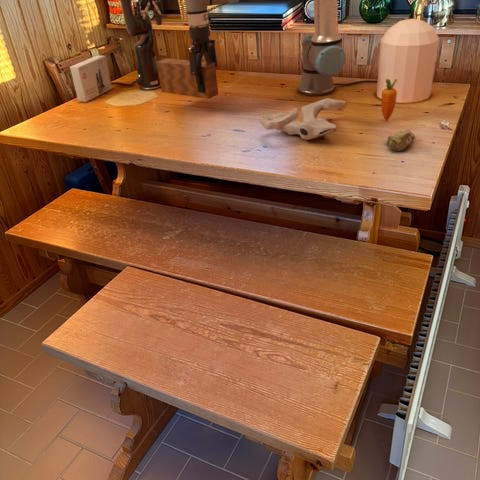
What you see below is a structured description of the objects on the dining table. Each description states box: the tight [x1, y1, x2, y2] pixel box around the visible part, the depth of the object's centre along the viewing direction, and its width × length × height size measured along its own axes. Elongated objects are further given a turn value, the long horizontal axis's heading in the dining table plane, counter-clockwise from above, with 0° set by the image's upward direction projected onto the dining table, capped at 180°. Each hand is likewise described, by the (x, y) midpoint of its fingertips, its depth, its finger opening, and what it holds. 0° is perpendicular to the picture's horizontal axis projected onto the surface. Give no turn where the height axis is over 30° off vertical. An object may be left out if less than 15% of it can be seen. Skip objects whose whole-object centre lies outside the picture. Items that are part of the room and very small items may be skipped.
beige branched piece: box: [259, 97, 347, 141], centre depth 160 cm, size 28×26×12 cm
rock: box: [387, 129, 416, 152], centre depth 146 cm, size 11×6×10 cm
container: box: [375, 18, 440, 104], centre depth 179 cm, size 21×21×28 cm
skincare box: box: [69, 54, 113, 103], centre depth 218 cm, size 21×6×16 cm, turn 158°
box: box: [156, 57, 219, 100], centre depth 183 cm, size 25×6×12 cm, turn 54°
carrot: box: [380, 79, 397, 122], centre depth 161 cm, size 5×5×15 cm
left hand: (152, 27), depth 191 cm, fingers open, 8 cm apart
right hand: (206, 89), depth 180 cm, fingers closed on box, 6 cm apart
